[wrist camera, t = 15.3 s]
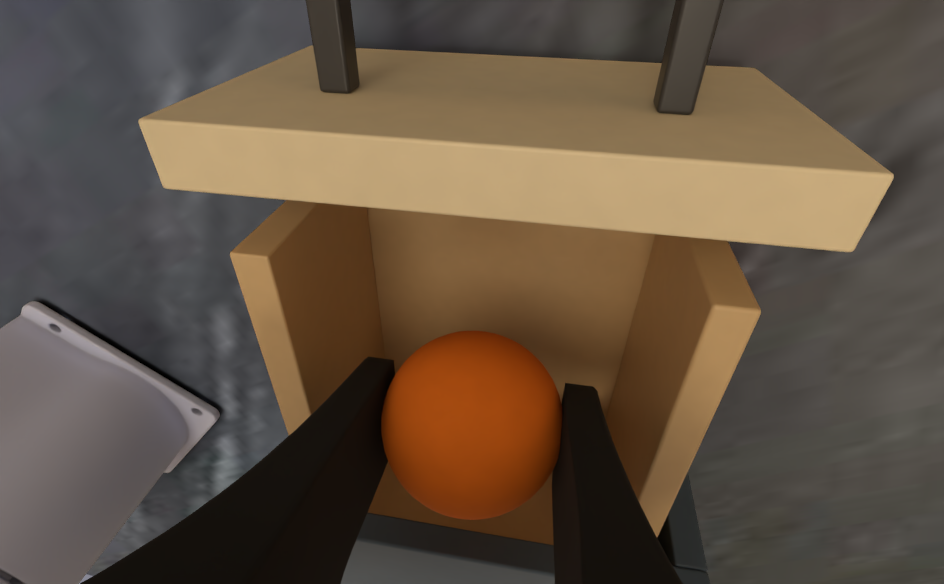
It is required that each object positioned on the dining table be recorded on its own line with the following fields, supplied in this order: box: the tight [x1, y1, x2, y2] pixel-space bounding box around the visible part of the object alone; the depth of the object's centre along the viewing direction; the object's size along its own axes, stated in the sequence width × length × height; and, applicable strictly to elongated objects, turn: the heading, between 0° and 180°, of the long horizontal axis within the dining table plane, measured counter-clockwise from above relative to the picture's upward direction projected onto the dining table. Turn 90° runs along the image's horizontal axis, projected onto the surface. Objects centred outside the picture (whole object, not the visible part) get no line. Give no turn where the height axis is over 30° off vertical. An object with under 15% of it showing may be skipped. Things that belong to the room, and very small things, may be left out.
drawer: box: [138, 0, 894, 545], centre depth 12 cm, size 17×11×6 cm, turn 0°
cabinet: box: [341, 472, 710, 584], centre depth 20 cm, size 14×12×8 cm
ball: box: [381, 331, 562, 520], centre depth 11 cm, size 4×4×4 cm
